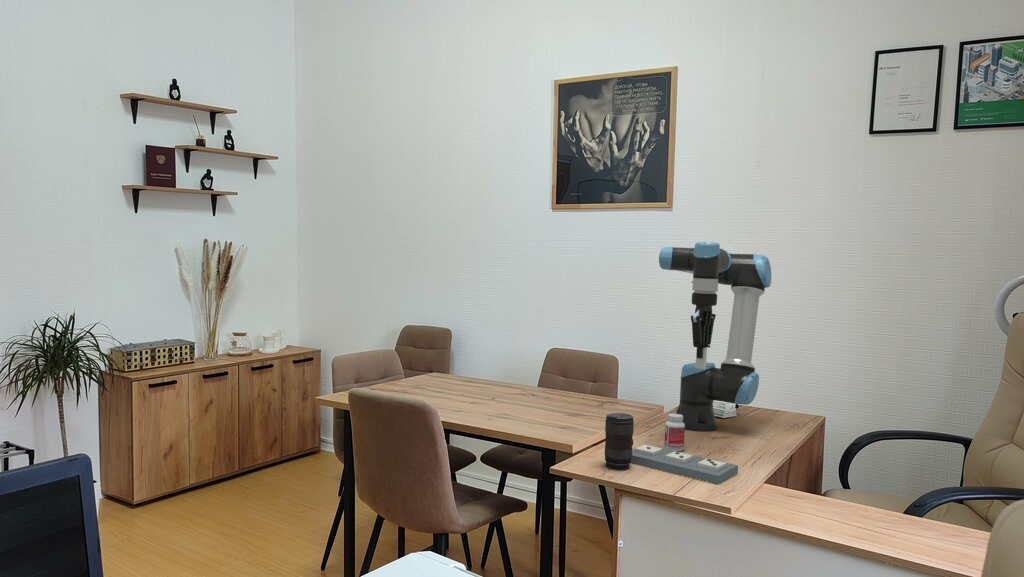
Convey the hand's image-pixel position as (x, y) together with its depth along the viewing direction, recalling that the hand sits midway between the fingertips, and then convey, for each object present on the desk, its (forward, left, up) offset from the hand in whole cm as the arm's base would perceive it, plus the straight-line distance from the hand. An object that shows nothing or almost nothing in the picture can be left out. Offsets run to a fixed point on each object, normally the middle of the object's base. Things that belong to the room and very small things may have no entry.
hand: (700, 368), depth 224 cm
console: (+15, +2, -27) cm, 31 cm away
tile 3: (+15, +12, -27) cm, 33 cm away
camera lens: (+28, -11, -28) cm, 41 cm away
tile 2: (+15, +2, -27) cm, 31 cm away
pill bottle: (-2, -8, -28) cm, 29 cm away
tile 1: (+15, -8, -27) cm, 32 cm away
